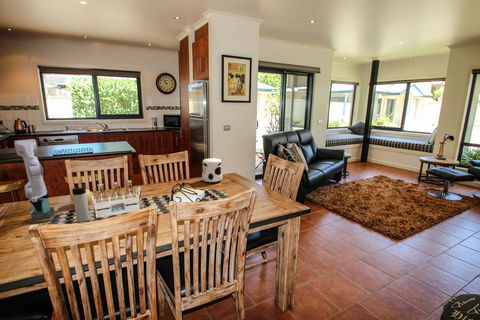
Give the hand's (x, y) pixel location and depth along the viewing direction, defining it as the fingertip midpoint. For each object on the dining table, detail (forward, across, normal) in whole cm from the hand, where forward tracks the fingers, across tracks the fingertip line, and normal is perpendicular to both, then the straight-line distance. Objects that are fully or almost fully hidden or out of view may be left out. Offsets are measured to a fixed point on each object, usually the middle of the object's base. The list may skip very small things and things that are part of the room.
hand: (42, 209), depth 145 cm
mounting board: (+6, 0, 0) cm, 6 cm away
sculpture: (+6, -16, +16) cm, 23 cm away
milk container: (+6, -42, +107) cm, 115 cm away
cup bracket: (+4, 0, 0) cm, 4 cm away
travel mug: (+6, +11, +23) cm, 26 cm away
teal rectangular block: (+2, 0, 0) cm, 2 cm away
